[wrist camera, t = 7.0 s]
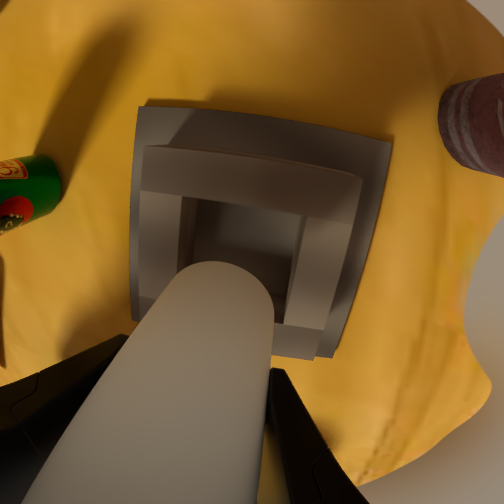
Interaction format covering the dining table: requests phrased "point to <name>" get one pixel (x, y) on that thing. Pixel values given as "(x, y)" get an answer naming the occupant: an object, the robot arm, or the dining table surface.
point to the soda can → (27, 190)
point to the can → (475, 123)
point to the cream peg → (175, 402)
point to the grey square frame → (256, 213)
